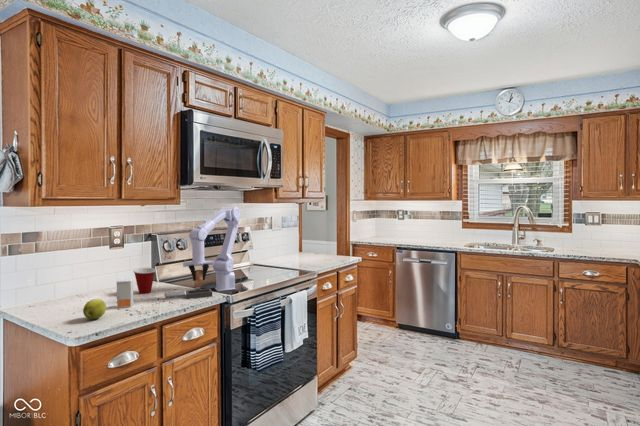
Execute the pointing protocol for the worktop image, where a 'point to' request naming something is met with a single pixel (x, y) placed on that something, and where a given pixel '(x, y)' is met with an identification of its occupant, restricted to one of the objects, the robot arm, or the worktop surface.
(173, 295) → the mat
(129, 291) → the skincare box
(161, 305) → the worktop surface
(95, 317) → the apple
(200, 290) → the dark flat piece
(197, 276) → the peg
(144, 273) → the plastic cup
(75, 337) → the worktop surface
